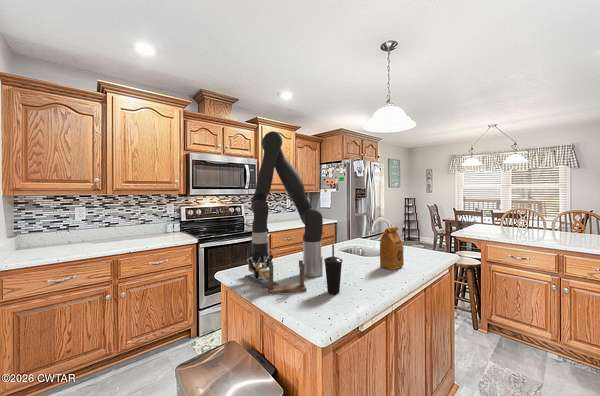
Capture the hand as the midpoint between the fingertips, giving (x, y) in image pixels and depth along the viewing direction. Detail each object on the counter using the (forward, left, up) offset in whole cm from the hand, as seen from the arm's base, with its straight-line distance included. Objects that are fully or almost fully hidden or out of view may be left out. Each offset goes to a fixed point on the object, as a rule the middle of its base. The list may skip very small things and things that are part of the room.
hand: (260, 277), depth 120 cm
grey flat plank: (0, 0, -2) cm, 2 cm away
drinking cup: (-30, +20, -2) cm, 36 cm away
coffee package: (-71, -7, -2) cm, 72 cm away
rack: (-11, +15, -2) cm, 19 cm away
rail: (0, 0, +1) cm, 1 cm away
